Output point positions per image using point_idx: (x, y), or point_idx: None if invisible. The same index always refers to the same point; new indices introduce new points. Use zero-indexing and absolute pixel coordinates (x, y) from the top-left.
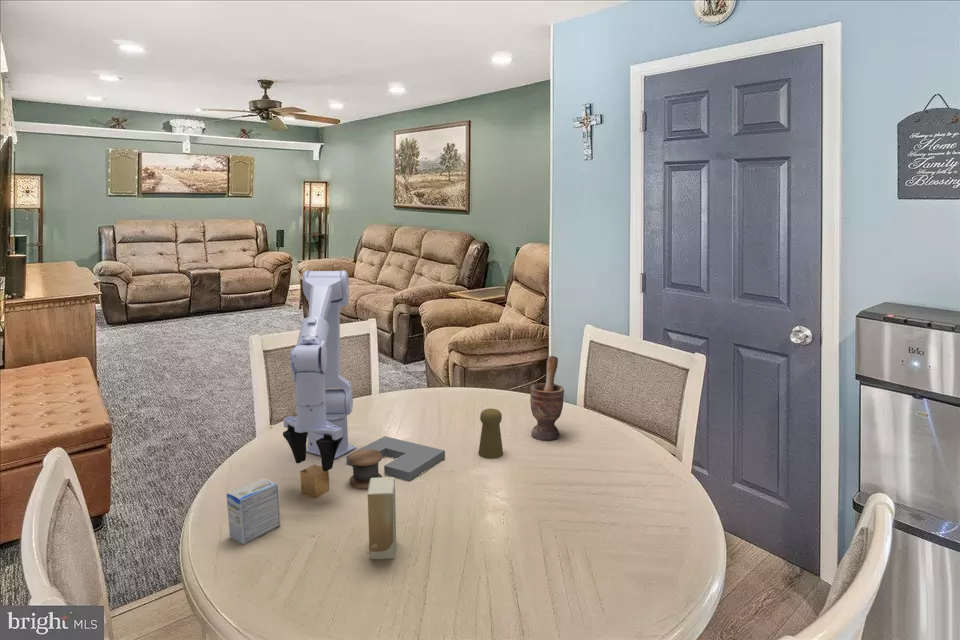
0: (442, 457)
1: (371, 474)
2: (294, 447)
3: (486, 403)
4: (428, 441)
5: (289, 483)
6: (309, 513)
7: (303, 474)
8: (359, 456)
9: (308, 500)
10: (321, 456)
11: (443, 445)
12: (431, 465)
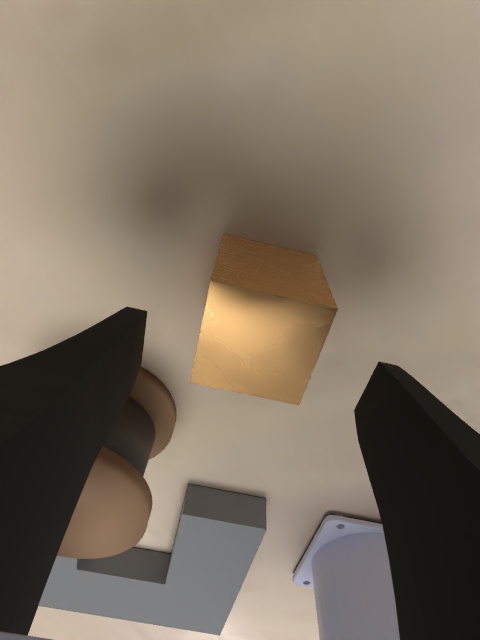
0: None
1: None
2: (450, 447)
3: None
4: (112, 625)
5: (421, 326)
6: (154, 67)
7: (307, 296)
8: (81, 499)
9: (244, 203)
10: (85, 358)
11: (58, 615)
12: None
